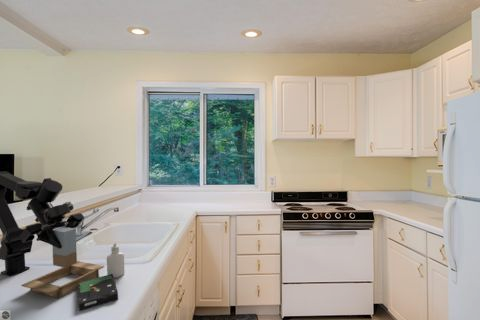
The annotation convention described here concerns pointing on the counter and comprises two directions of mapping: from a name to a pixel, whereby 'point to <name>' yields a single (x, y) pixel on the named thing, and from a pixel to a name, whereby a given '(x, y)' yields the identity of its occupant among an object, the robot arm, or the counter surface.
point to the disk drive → (97, 292)
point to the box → (65, 247)
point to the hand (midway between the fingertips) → (67, 245)
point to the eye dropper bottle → (115, 262)
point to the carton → (79, 268)
